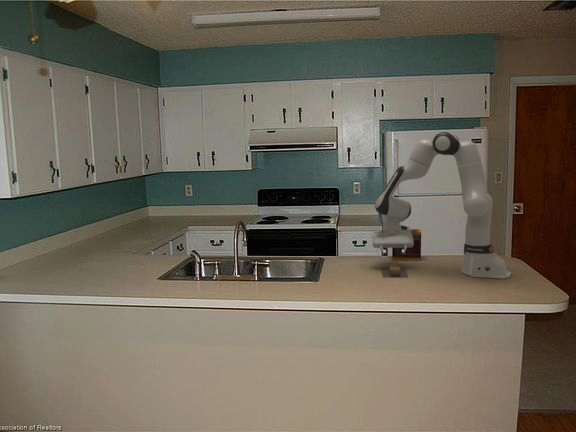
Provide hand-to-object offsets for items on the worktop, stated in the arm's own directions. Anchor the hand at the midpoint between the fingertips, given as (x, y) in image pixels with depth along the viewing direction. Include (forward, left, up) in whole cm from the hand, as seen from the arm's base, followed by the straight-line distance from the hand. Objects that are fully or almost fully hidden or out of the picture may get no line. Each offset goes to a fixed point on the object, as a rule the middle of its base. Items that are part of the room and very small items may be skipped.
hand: (393, 253), depth 257 cm
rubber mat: (-1, +4, -9) cm, 10 cm away
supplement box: (+3, -30, -9) cm, 32 cm away
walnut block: (-1, +2, -7) cm, 7 cm away
